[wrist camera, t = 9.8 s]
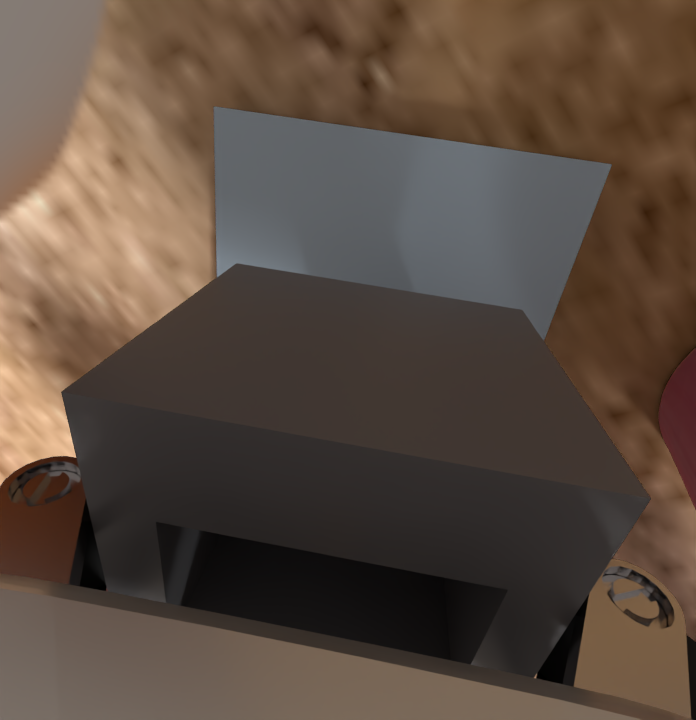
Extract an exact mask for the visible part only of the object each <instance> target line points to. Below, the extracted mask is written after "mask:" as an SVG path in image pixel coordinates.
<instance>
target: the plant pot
mask: <svg viewBox="0 0 696 720" xmlns="http://www.w3.org/2000/svg"><path fill="white" fill-rule="evenodd" d="M659 426H660V431H661V434H662V437H663V439H664V441H665V444H666V446H667V447H668V449H669V451H670V453H671V456H672V458H673V460H674V462H675V464H676V466H677V468H678V471H679V473H680V475H681V478H682V480H683V482H684V484H685V487H686V489H687V491H688V494H689V496H690V498H691V500H692V503H693V505H694V507H695V509H696V348H695V349H694V350H693V351H692V352H691V353H690V354H689V355H688V356H687V357H686V358H685V359H684V360H683V361H682V362H681V363H680V365H679V366H678V367H677V368H676V370H675V371H674V373H673V374H672V376H671V378H670V379H669V381H668V383H667V385H666V387H665V389H664V391H663V394H662V397H661V402H660V406H659Z"/></svg>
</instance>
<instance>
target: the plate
mask: <svg viewBox="0 0 696 720" xmlns="http://www.w3.org/2000/svg"><path fill="white" fill-rule="evenodd" d="M214 154H215V207H216V259H217V277H218V276H220V275H221V274H222V273H224V272H225V271H227V270H228V269H229V268H231V267H232V266H233V265H235V264H236V263H238V264H244V265H251V266H257V267H263V268H269V269H275V270H281V271H287V272H293V273H300V274H306V275H312V276H318V277H324V278H330V279H336V280H343V281H349V282H355V283H361V284H367V285H373V286H379V287H385V288H392V289H398V290H404V291H410V292H416V293H422V294H428V295H435V296H441V297H447V298H453V299H459V300H465V301H471V302H478V303H484V304H490V305H496V306H502V307H508V308H514V309H520V310H523V312H524V313H525V314H526V316H527V317H528V319H529V320H530V322H531V323H532V325H533V326H534V328H535V329H536V331H537V332H538V334H539V335H540V336H541V338H542V339H543V341H544V339H545V337H546V334H547V331H548V329H549V326H550V324H551V321H552V318H553V316H554V313H555V311H556V308H557V306H558V303H559V300H560V298H561V295H562V293H563V290H564V287H565V285H566V282H567V280H568V277H569V274H570V272H571V269H572V267H573V264H574V262H575V259H576V256H577V254H578V251H579V249H580V246H581V243H582V241H583V238H584V236H585V233H586V231H587V228H588V225H589V223H590V220H591V218H592V215H593V212H594V210H595V207H596V205H597V202H598V200H599V197H600V194H601V192H602V189H603V187H604V184H605V181H606V179H607V176H608V174H609V171H610V168H611V166H612V164H607V163H600V162H593V161H586V160H579V159H572V158H565V157H558V156H552V155H545V154H538V153H531V152H524V151H517V150H510V149H503V148H497V147H490V146H483V145H476V144H469V143H462V142H455V141H449V140H442V139H435V138H428V137H421V136H414V135H407V134H400V133H394V132H387V131H380V130H373V129H366V128H359V127H352V126H345V125H339V124H332V123H325V122H318V121H311V120H304V119H297V118H291V117H284V116H277V115H270V114H263V113H256V112H249V111H242V110H236V109H229V108H222V107H215V106H214Z"/></svg>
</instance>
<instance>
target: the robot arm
mask: <svg viewBox="0 0 696 720" xmlns="http://www.w3.org/2000/svg"><path fill="white" fill-rule="evenodd" d="M0 720H696V642H695V641H693V640H692V639H691V638H690V637H688V636H687V635H686V622H685V618H684V614H683V610H682V608H681V607H680V605H679V603H678V602H677V600H676V598H675V597H674V596H673V594H672V593H671V592H670V591H669V590H668V589H667V588H666V586H665V585H663V584H662V583H661V582H660V581H659V580H658V579H656V578H655V577H654V576H653V575H651V574H650V573H648V572H647V571H645V570H643V569H642V568H640V567H638V566H636V565H633V564H631V563H629V562H626V561H622V560H617V559H611V561H610V562H609V564H608V565H607V567H606V569H605V570H604V572H603V573H602V575H601V576H600V578H599V579H598V581H597V582H596V584H595V585H594V587H593V588H592V590H591V591H590V593H589V595H588V596H587V598H586V599H585V601H584V602H583V604H582V605H581V607H580V608H579V610H578V611H577V613H576V614H575V616H574V617H573V619H572V621H571V622H570V624H569V625H568V627H567V628H566V630H565V631H564V633H563V634H562V636H561V637H560V639H559V640H558V642H557V643H556V645H555V647H554V648H553V650H552V651H551V653H550V654H549V656H548V657H547V659H546V660H545V662H544V663H543V665H542V666H541V668H540V669H539V671H538V673H537V674H536V676H535V677H534V678H532V677H528V676H523V675H518V674H513V673H509V672H504V671H499V670H494V669H489V668H485V667H480V666H475V665H470V664H465V663H461V662H456V661H451V660H446V659H441V658H437V657H432V656H427V655H422V654H417V653H413V652H408V651H403V650H398V649H393V648H388V647H383V646H379V645H374V644H369V643H364V642H359V641H354V640H349V639H344V638H339V637H334V636H329V635H324V634H319V633H315V632H310V631H305V630H300V629H295V628H290V627H285V626H280V625H275V624H270V623H265V622H260V621H255V620H250V619H245V618H240V617H235V616H230V615H225V614H220V613H215V612H210V611H205V610H199V609H194V608H189V607H184V606H179V605H174V604H169V603H164V602H159V601H154V600H149V599H143V598H138V597H133V596H128V595H123V594H118V593H113V592H108V591H107V586H106V582H105V578H104V573H103V569H102V565H101V560H100V556H99V552H98V548H97V543H96V539H95V535H94V530H93V526H92V522H91V518H90V513H89V509H88V505H87V500H86V496H85V492H84V488H83V483H82V479H81V475H80V470H79V466H78V462H77V458H74V457H68V456H58V457H50V458H45V459H40V460H38V461H35V462H32V463H30V464H27V465H25V466H23V467H22V468H20V469H18V470H16V471H15V472H13V473H12V474H11V475H10V476H9V477H8V478H6V479H5V480H4V482H3V483H2V485H1V486H0Z"/></svg>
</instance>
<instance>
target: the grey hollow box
mask: <svg viewBox="0 0 696 720" xmlns="http://www.w3.org/2000/svg"><path fill="white" fill-rule="evenodd" d="M61 393H62V397H63V402H64V406H65V410H66V415H67V419H68V423H69V427H70V432H71V436H72V440H73V445H74V449H75V453H76V457H77V462H78V466H79V470H80V475H81V479H82V483H83V488H84V492H85V496H86V500H87V505H88V509H89V513H90V518H91V522H92V526H93V530H94V535H95V539H96V543H97V548H98V552H99V556H100V560H101V565H102V569H103V573H104V578H105V582H106V586H107V591H108V592H113V593H118V594H123V595H128V596H133V597H138V598H143V599H149V600H154V601H159V602H164V603H169V604H174V605H179V606H184V607H189V608H194V609H199V610H205V611H210V612H215V613H220V614H225V615H230V616H235V617H240V618H245V619H250V620H255V621H260V622H265V623H270V624H275V625H280V626H285V627H290V628H295V629H300V630H305V631H310V632H315V633H319V634H324V635H329V636H334V637H339V638H344V639H349V640H354V641H359V642H364V643H369V644H374V645H379V646H383V647H388V648H393V649H398V650H403V651H408V652H413V653H417V654H422V655H427V656H432V657H437V658H441V659H446V660H451V661H456V662H461V663H465V664H470V665H475V666H480V667H485V668H489V669H494V670H499V671H504V672H509V673H513V674H518V675H523V676H528V677H532V678H534V677H535V676H536V674H537V673H538V671H539V669H540V668H541V666H542V665H543V663H544V662H545V660H546V659H547V657H548V656H549V654H550V653H551V651H552V650H553V648H554V647H555V645H556V643H557V642H558V640H559V639H560V637H561V636H562V634H563V633H564V631H565V630H566V628H567V627H568V625H569V624H570V622H571V621H572V619H573V617H574V616H575V614H576V613H577V611H578V610H579V608H580V607H581V605H582V604H583V602H584V601H585V599H586V598H587V596H588V595H589V593H590V591H591V590H592V588H593V587H594V585H595V584H596V582H597V581H598V579H599V578H600V576H601V575H602V573H603V572H604V570H605V569H606V567H607V565H608V564H609V562H610V561H611V559H612V558H613V556H614V555H615V553H616V552H617V550H618V549H619V547H620V546H621V544H622V543H623V541H624V539H625V538H626V536H627V535H628V533H629V532H630V530H631V529H632V527H633V526H634V524H635V523H636V521H637V520H638V518H639V517H640V515H641V513H642V512H643V510H644V509H645V507H646V506H647V504H648V503H649V501H650V500H651V498H650V496H649V495H648V494H647V492H646V491H645V489H644V488H643V486H642V485H641V483H640V482H639V480H638V479H637V477H636V476H635V474H634V473H633V472H632V470H631V469H630V467H629V466H628V464H627V463H626V461H625V460H624V458H623V457H622V455H621V454H620V452H619V451H618V449H617V448H616V447H615V445H614V444H613V442H612V441H611V439H610V438H609V436H608V435H607V433H606V432H605V430H604V429H603V427H602V426H601V425H600V423H599V422H598V420H597V419H596V417H595V416H594V414H593V413H592V411H591V410H590V408H589V407H588V405H587V404H586V403H585V401H584V400H583V398H582V397H581V395H580V394H579V392H578V391H577V389H576V388H575V386H574V385H573V383H572V382H571V381H570V379H569V378H568V376H567V375H566V373H565V372H564V370H563V369H562V367H561V366H560V364H559V363H558V361H557V360H556V358H555V357H554V356H553V354H552V353H551V351H550V350H549V348H548V347H547V345H546V344H545V342H544V341H543V339H542V338H541V336H540V335H539V334H538V332H537V331H536V329H535V328H534V326H533V325H532V323H531V322H530V320H529V319H528V317H527V316H526V314H525V313H524V312H523V310H520V309H514V308H508V307H502V306H496V305H490V304H484V303H478V302H471V301H465V300H459V299H453V298H447V297H441V296H435V295H428V294H422V293H416V292H410V291H404V290H398V289H392V288H385V287H379V286H373V285H367V284H361V283H355V282H349V281H343V280H336V279H330V278H324V277H318V276H312V275H306V274H300V273H293V272H287V271H281V270H275V269H269V268H263V267H257V266H251V265H244V264H238V263H236V264H235V265H233V266H232V267H231V268H229V269H228V270H227V271H225V272H224V273H222V274H221V275H220V276H218V277H217V278H216V279H214V280H213V281H212V282H210V283H209V284H207V285H206V286H205V287H203V288H202V289H201V290H199V291H198V292H197V293H195V294H194V295H193V296H191V297H190V298H188V299H187V300H186V301H184V302H183V303H182V304H180V305H179V306H178V307H176V308H175V309H173V310H172V311H171V312H169V313H168V314H167V315H165V316H164V317H163V318H161V319H160V320H159V321H157V322H156V323H154V324H153V325H152V326H150V327H149V328H148V329H146V330H145V331H144V332H142V333H141V334H139V335H138V336H137V337H135V338H134V339H133V340H131V341H130V342H129V343H127V344H126V345H125V346H123V347H122V348H120V349H119V350H118V351H116V352H115V353H114V354H112V355H111V356H110V357H108V358H107V359H105V360H104V361H103V362H101V363H100V364H99V365H97V366H96V367H95V368H93V369H92V370H91V371H89V372H88V373H86V374H85V375H84V376H82V377H81V378H80V379H78V380H77V381H76V382H74V383H73V384H71V385H70V386H69V387H67V388H66V389H65V390H63V391H62V392H61Z"/></svg>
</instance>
